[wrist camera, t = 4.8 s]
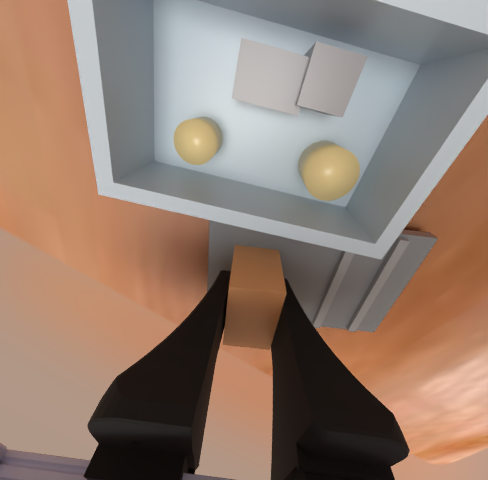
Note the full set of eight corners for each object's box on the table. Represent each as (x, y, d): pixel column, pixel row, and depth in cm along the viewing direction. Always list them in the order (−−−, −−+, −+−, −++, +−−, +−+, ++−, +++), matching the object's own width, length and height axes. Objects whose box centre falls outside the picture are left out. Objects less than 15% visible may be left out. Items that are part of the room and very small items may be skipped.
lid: (430, 232, 11) (501, 281, 8) (370, 324, 15) (401, 382, 12) (211, 206, 11) (194, 246, 8) (208, 307, 15) (195, 361, 12)
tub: (436, 51, 8) (561, 13, 5) (347, 215, 12) (381, 259, 8) (143, -35, 7) (43, -152, 4) (147, 167, 11) (98, 194, 8)
